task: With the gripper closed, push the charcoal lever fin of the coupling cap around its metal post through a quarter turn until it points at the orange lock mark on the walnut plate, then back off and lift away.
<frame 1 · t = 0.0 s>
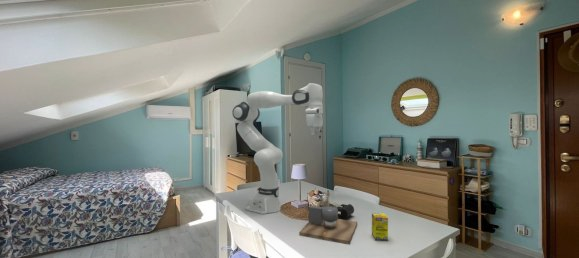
hand: (315, 134, 144), 48 cm above the table, tool pointing down, fingers open, 8 cm apart
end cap: (345, 217, 143), on the table
supplement box: (379, 238, 116), on the table
coupling: (323, 215, 127), point 7 cm above the table, hinge at 0.0°
mount plate: (329, 229, 126), on the table
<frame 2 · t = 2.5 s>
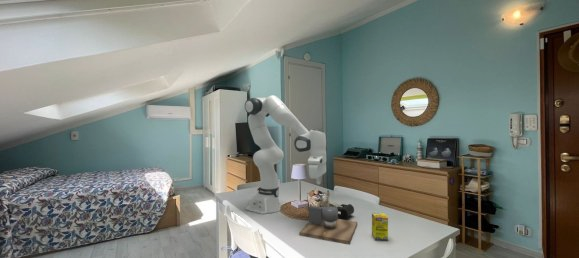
hand: (318, 183, 135), 21 cm above the table, tool pointing down, fingers closed
nothing on the table moved.
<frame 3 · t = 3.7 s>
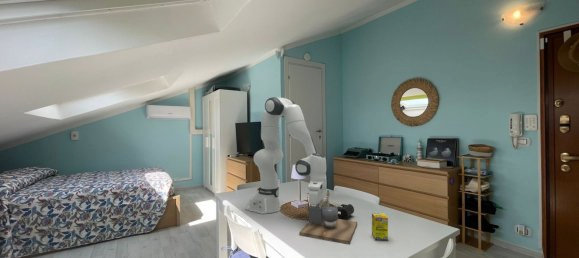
hand: (318, 208, 135), 8 cm above the table, tool pointing down, fingers closed
nothing on the table moved.
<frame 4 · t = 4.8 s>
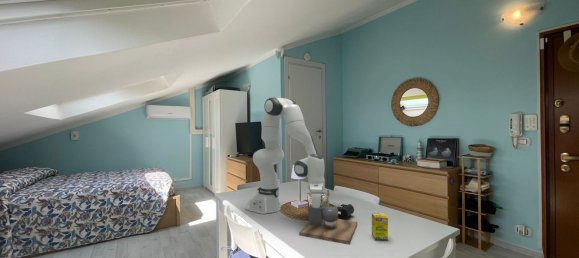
hand: (316, 211, 131), 8 cm above the table, tool pointing down, fingers closed
coupling: (323, 215, 127), point 7 cm above the table, hinge at 3.0°, touching gripper
everything else where it was.
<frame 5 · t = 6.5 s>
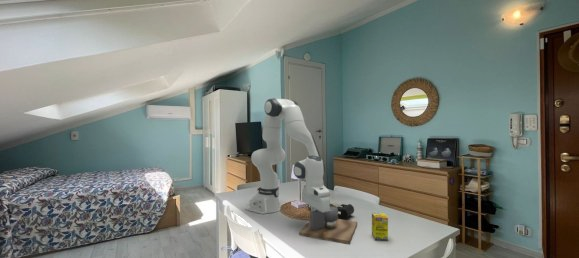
hand: (314, 215, 125), 8 cm above the table, tool pointing down, fingers closed
coupling: (324, 217, 124), point 7 cm above the table, hinge at 50.5°, touching gripper
everything else where it was.
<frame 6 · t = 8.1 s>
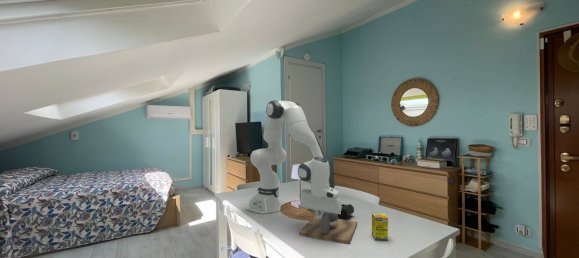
hand: (320, 219, 120), 8 cm above the table, tool pointing down, fingers closed
coupling: (328, 219, 123), point 7 cm above the table, hinge at 90.6°, touching gripper
everything else where it was.
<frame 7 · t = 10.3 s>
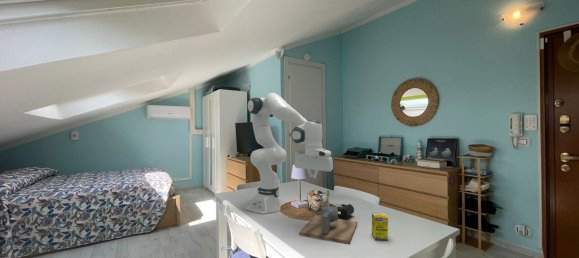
hand: (313, 178, 127), 26 cm above the table, tool pointing down, fingers closed
coupling: (328, 219, 123), point 7 cm above the table, hinge at 90.9°
everything else where it was.
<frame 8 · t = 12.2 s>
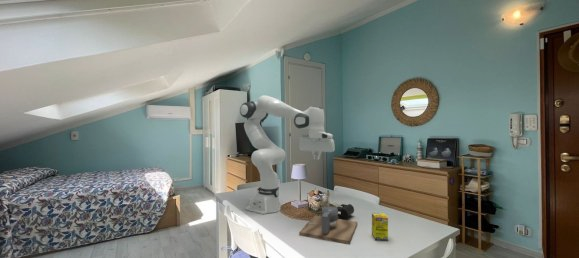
hand: (316, 159, 139), 34 cm above the table, tool pointing down, fingers closed
nothing on the table moved.
at the end: coupling at +91° (first picture: +0°); the gripper is holding nothing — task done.
